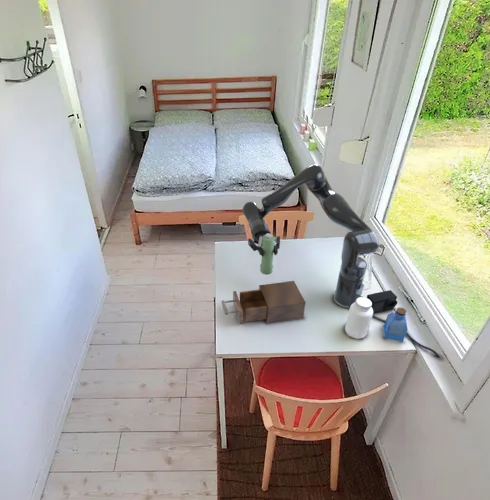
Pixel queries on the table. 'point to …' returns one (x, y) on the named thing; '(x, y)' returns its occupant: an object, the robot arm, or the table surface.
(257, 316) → the drawer
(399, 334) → the perfume bottle
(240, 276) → the table surface
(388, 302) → the digital camera
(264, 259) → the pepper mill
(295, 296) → the cabinet
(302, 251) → the table surface
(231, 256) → the table surface
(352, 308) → the pill bottle
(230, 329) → the table surface
